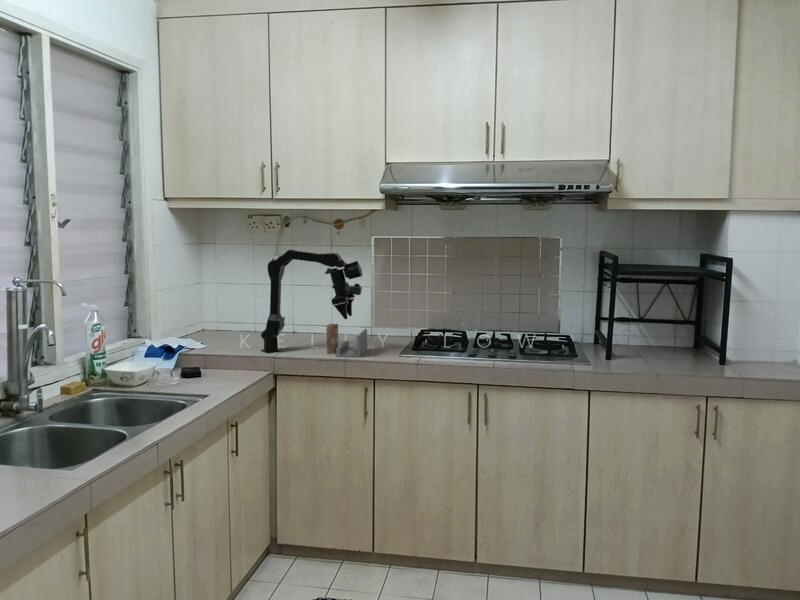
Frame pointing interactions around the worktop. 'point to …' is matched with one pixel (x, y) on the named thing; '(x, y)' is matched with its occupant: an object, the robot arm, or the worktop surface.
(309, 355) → the worktop surface
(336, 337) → the brown wooden block
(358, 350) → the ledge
